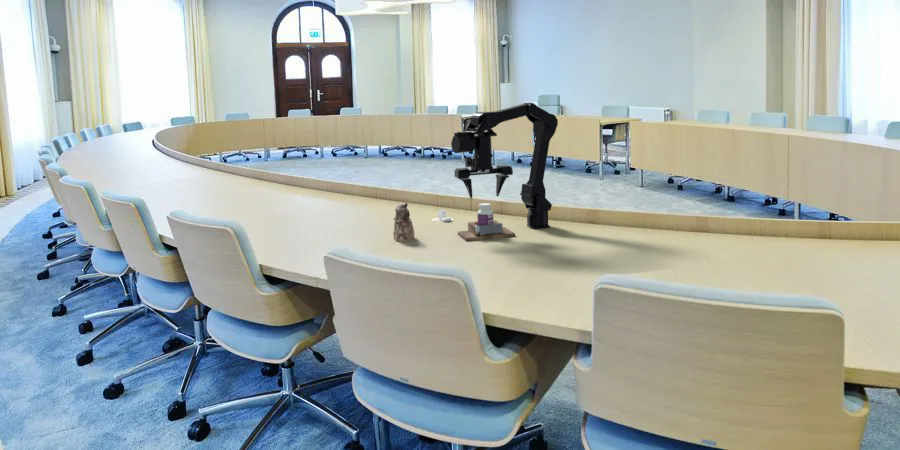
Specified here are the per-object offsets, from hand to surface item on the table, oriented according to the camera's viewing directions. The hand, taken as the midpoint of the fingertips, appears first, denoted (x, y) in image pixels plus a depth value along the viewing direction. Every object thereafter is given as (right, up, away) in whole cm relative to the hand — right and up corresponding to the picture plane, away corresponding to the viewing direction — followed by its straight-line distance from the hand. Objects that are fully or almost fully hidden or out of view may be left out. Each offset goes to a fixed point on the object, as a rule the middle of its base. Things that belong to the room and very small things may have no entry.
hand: (484, 197), depth 231 cm
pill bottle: (+1, -12, +3) cm, 12 cm away
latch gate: (+1, -12, -2) cm, 12 cm away
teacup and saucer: (-16, -9, +29) cm, 34 cm away
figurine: (-27, -14, +2) cm, 31 cm away
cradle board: (+1, -13, +3) cm, 13 cm away
